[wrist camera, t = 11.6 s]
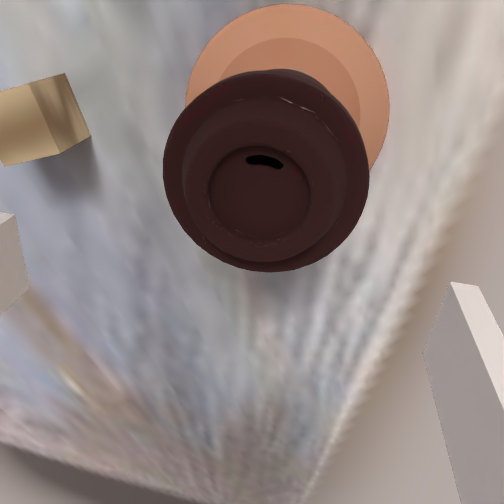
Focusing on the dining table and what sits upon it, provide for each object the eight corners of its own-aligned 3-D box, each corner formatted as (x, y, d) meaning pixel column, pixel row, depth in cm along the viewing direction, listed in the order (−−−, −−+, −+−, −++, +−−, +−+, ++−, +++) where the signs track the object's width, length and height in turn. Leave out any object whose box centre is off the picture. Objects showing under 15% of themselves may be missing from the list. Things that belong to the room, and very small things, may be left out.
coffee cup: (287, 208, 36) (266, 323, 23) (193, 123, 34) (110, 199, 21) (383, 116, 32) (422, 197, 19) (281, 12, 29) (246, 21, 16)
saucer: (190, -8, 30) (186, -8, 30) (412, 16, 29) (415, 17, 28) (187, 194, 38) (183, 199, 37) (363, 219, 37) (363, 225, 36)
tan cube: (12, 87, 36) (-31, 100, 32) (65, 72, 35) (28, 83, 30) (40, 147, 38) (4, 166, 34) (91, 135, 37) (60, 153, 33)
